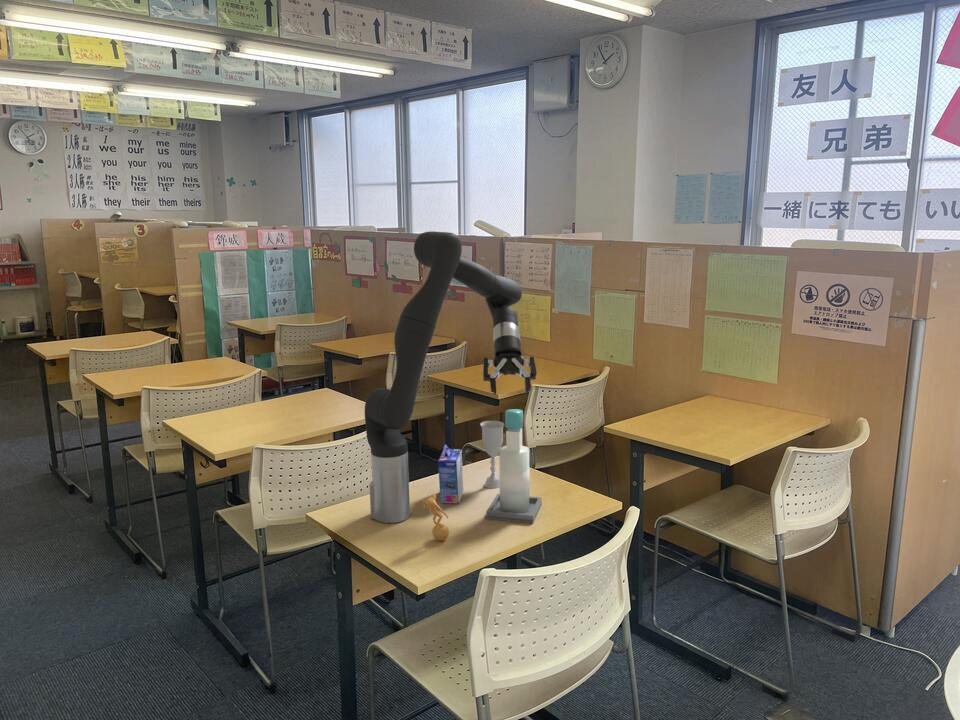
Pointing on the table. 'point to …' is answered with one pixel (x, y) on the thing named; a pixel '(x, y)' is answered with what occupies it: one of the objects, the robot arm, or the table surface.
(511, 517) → the pump bottle
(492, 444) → the chalice
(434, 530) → the figurine
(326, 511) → the table surface
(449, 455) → the ink cartridge box
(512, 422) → the pump plunger
